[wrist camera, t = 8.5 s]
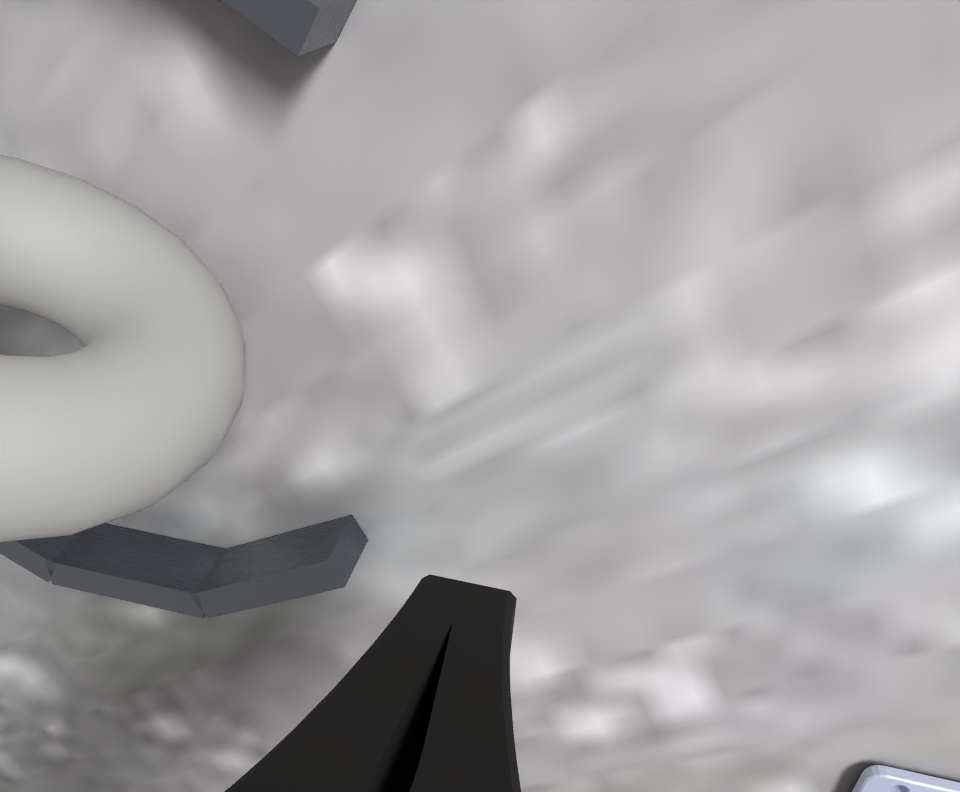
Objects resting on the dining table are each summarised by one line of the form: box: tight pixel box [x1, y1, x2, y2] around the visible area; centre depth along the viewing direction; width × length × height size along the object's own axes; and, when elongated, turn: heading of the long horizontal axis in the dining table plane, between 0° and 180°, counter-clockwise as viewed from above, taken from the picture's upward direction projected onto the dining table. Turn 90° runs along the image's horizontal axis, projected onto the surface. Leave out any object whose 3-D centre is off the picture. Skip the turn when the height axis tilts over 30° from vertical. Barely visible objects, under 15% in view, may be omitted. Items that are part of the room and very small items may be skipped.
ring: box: [0, 0, 368, 618], centre depth 21 cm, size 17×20×2 cm
